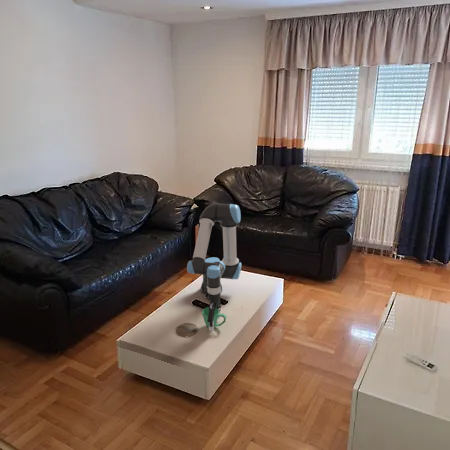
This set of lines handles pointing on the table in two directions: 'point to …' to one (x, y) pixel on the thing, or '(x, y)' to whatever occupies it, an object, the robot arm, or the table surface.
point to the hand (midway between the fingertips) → (214, 324)
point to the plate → (186, 329)
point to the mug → (216, 315)
